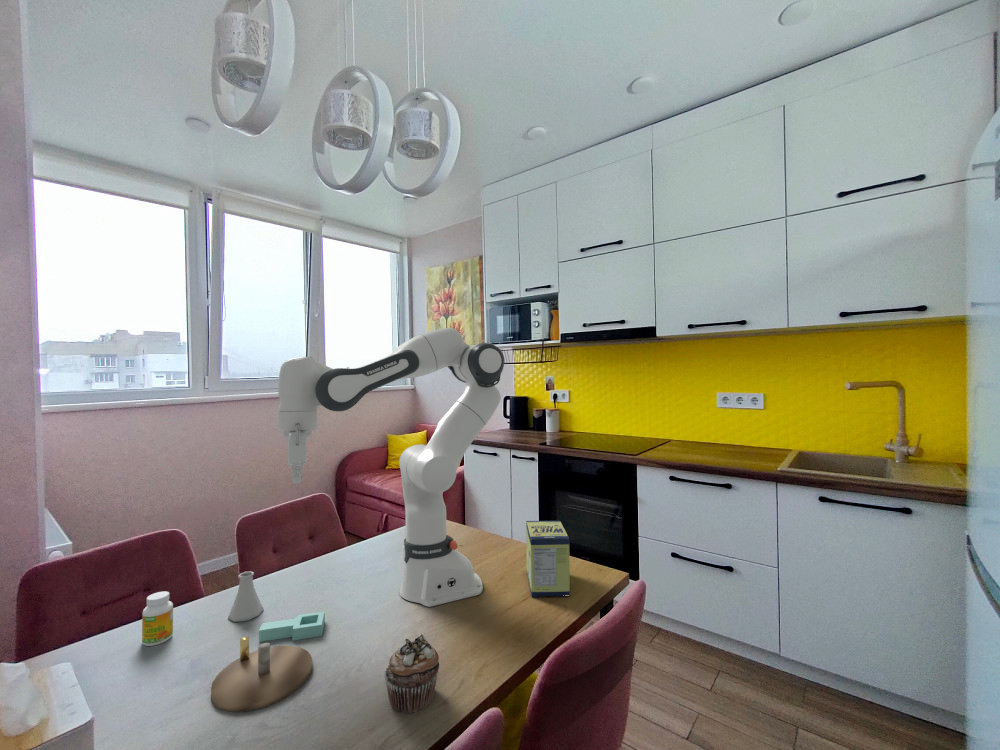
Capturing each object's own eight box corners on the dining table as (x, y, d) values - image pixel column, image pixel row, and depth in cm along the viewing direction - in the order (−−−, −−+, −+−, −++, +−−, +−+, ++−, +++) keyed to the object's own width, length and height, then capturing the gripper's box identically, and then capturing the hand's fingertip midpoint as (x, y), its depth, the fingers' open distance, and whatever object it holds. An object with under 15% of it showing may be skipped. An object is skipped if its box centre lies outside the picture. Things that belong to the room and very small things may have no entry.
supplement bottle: (138, 649, 93) (139, 603, 93) (145, 636, 98) (145, 593, 98) (170, 642, 96) (170, 597, 96) (175, 630, 100) (175, 587, 101)
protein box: (560, 571, 130) (560, 519, 130) (570, 597, 115) (570, 538, 115) (525, 572, 130) (525, 520, 130) (531, 598, 114) (530, 538, 115)
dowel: (250, 655, 89) (250, 635, 89) (247, 660, 87) (248, 640, 87) (241, 656, 88) (241, 636, 89) (239, 661, 87) (239, 641, 87)
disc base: (317, 645, 94) (317, 616, 94) (304, 700, 78) (305, 665, 78) (228, 659, 90) (228, 629, 90) (195, 721, 73) (195, 683, 73)
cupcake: (421, 671, 85) (421, 620, 86) (449, 698, 78) (449, 642, 78) (375, 695, 79) (375, 639, 79) (401, 726, 72) (400, 665, 72)
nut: (324, 621, 103) (324, 611, 103) (321, 635, 98) (321, 624, 98) (264, 630, 100) (264, 619, 100) (257, 645, 94) (257, 634, 94)
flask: (247, 624, 103) (247, 581, 103) (221, 621, 104) (221, 579, 104) (269, 608, 110) (269, 568, 110) (244, 606, 111) (244, 566, 111)
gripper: (312, 425, 99) (312, 486, 98) (310, 420, 117) (309, 471, 117) (281, 426, 96) (280, 489, 96) (284, 420, 115) (283, 473, 114)
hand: (296, 479), depth 106 cm, fingers open, 8 cm apart
